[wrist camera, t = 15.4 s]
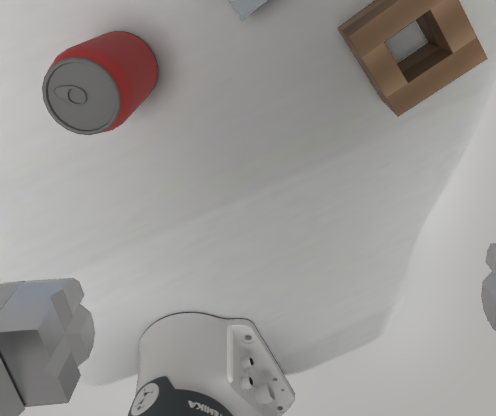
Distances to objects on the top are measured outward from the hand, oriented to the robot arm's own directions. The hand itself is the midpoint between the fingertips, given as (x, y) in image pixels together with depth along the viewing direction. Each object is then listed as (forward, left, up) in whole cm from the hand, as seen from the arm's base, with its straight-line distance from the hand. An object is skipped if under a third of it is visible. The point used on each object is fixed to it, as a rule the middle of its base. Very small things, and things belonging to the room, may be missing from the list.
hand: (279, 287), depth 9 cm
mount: (-7, -10, -37) cm, 39 cm away
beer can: (+6, +12, -37) cm, 40 cm away
